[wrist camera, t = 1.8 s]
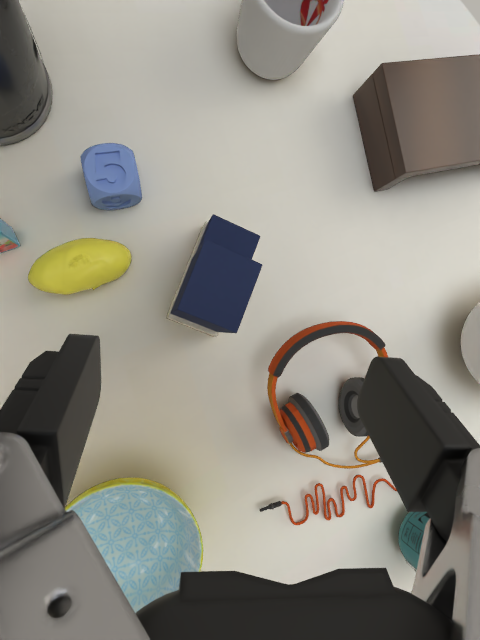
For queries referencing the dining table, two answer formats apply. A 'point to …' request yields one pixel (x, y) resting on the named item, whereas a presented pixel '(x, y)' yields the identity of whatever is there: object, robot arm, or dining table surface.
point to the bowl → (141, 535)
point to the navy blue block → (217, 279)
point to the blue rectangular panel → (7, 237)
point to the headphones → (305, 422)
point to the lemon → (79, 266)
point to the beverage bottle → (412, 536)
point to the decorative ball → (472, 342)
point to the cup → (282, 33)
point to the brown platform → (420, 117)
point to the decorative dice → (111, 176)
